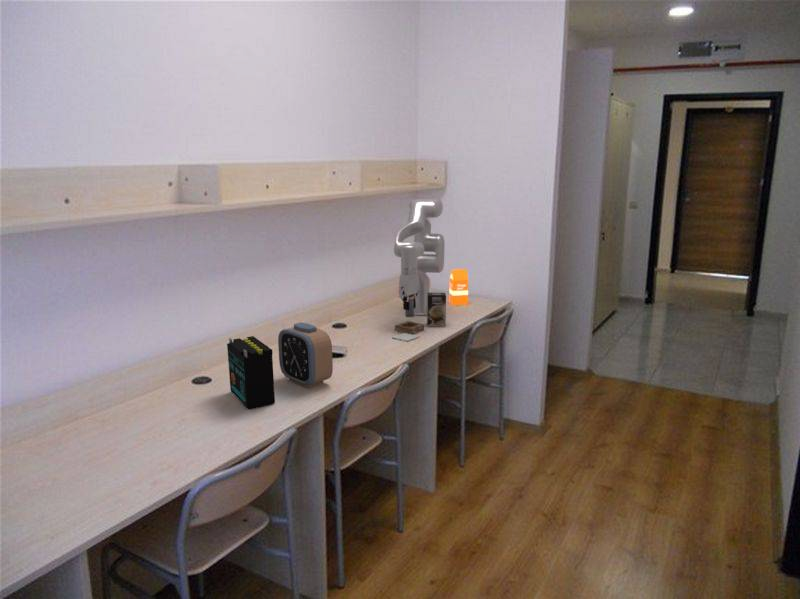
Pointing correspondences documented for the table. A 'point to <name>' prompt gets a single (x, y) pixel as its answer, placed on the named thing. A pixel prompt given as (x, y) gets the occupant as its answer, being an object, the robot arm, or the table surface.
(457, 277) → the orange juice
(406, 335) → the mat
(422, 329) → the socket block
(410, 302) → the plug
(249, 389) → the battery
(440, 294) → the coffee box
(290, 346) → the alarm clock
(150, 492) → the table surface
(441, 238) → the robot arm
